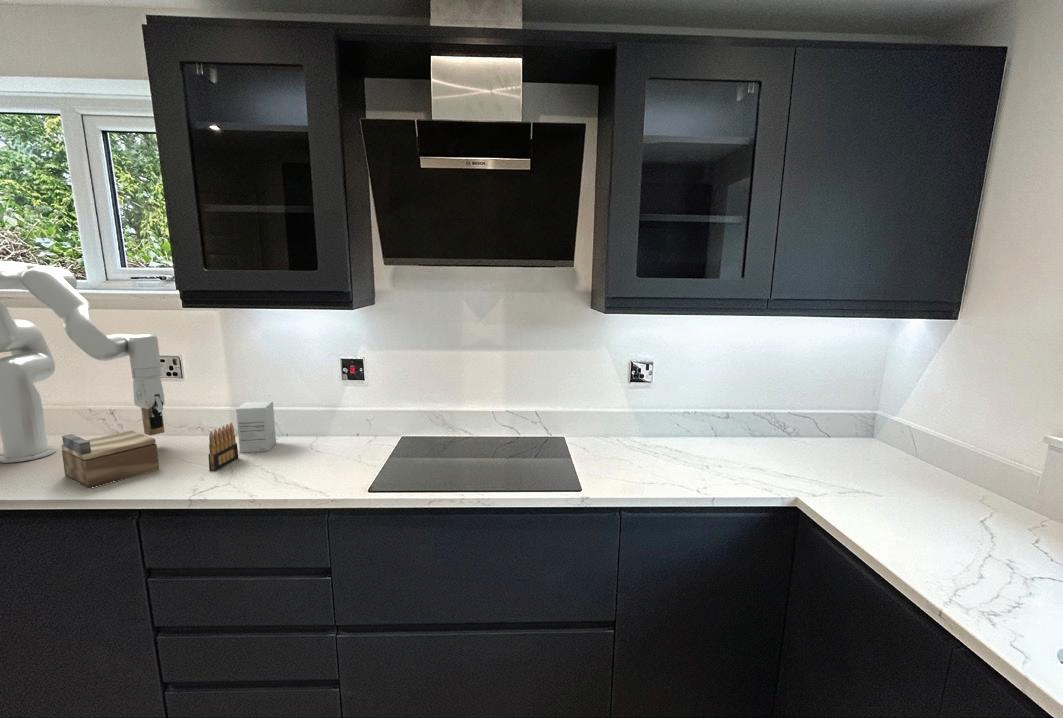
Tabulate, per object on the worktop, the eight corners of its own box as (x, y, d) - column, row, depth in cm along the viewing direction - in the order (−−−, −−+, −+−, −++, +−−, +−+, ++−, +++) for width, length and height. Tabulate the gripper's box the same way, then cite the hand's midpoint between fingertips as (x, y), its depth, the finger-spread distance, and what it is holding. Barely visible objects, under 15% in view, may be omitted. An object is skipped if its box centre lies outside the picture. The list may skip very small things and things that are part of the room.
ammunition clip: (233, 458, 149) (230, 421, 147) (238, 458, 149) (235, 421, 147) (209, 471, 139) (205, 432, 137) (215, 471, 139) (211, 432, 137)
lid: (61, 449, 132) (59, 435, 131) (131, 434, 146) (130, 421, 145) (84, 460, 125) (82, 444, 124) (155, 443, 138) (154, 429, 138)
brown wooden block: (144, 433, 155) (140, 404, 154) (158, 430, 159) (155, 401, 157) (150, 435, 153) (146, 405, 152) (164, 432, 157) (161, 403, 155)
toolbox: (65, 476, 133) (61, 450, 132) (134, 458, 147) (131, 435, 146) (89, 489, 126) (85, 461, 124) (159, 469, 139) (156, 444, 138)
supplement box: (247, 444, 162) (244, 401, 160) (276, 442, 164) (273, 400, 162) (238, 453, 153) (235, 408, 151) (269, 451, 156) (266, 407, 153)
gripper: (120, 371, 154) (128, 426, 157) (145, 377, 146) (152, 434, 149) (148, 368, 160) (154, 420, 163) (173, 373, 152) (179, 427, 155)
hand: (153, 426), depth 156 cm, fingers closed on brown wooden block, 4 cm apart
